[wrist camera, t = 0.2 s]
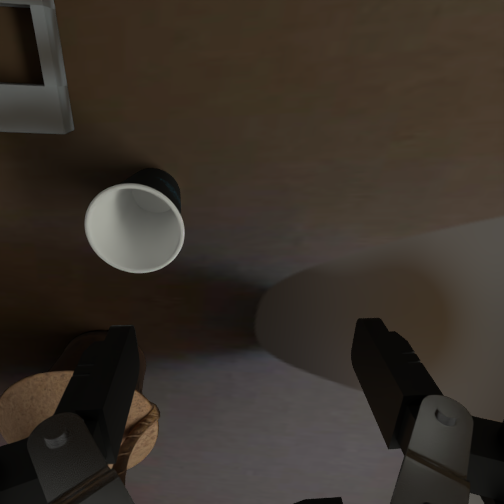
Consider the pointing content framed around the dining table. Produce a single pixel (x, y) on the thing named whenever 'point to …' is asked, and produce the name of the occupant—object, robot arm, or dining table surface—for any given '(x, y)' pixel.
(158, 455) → the dining table surface
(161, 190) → the dixie cup
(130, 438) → the pitcher
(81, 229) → the dining table surface
